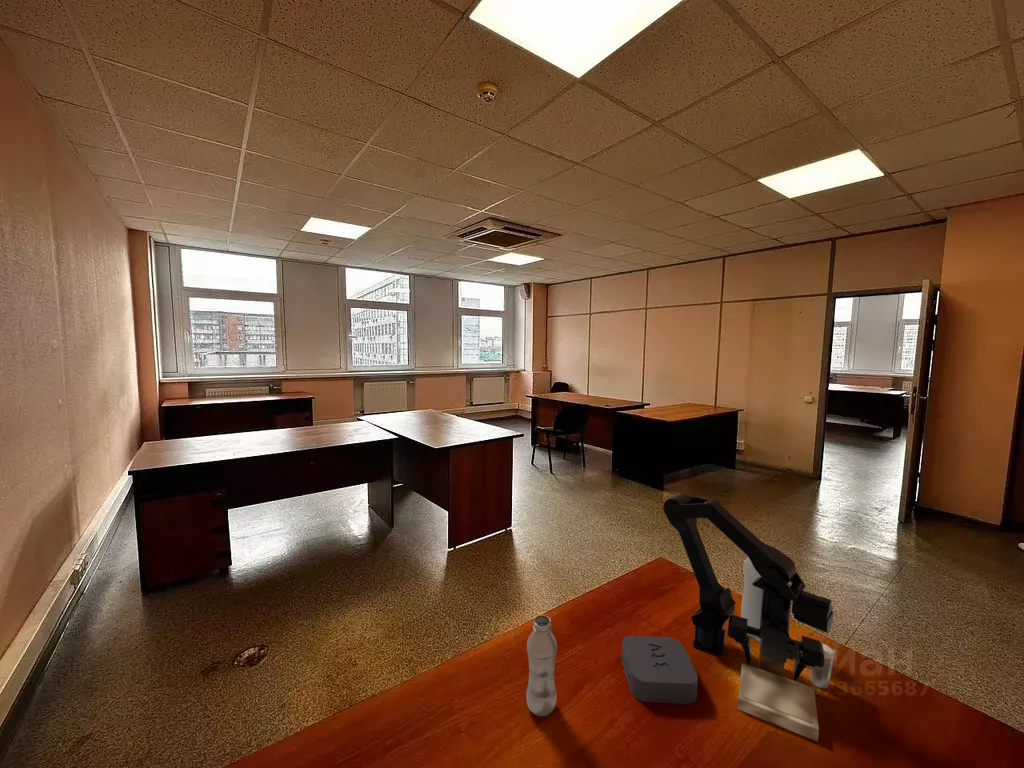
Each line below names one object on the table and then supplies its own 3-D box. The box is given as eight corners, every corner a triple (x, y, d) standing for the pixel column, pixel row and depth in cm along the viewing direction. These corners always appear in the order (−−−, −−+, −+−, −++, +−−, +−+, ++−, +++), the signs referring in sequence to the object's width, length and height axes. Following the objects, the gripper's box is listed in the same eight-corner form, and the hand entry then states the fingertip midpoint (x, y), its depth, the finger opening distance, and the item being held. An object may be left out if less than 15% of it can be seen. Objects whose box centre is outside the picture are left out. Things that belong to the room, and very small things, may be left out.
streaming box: (700, 705, 92) (702, 684, 91) (633, 703, 92) (634, 681, 92) (677, 656, 106) (678, 637, 106) (619, 654, 107) (620, 635, 106)
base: (737, 709, 91) (738, 697, 91) (741, 672, 101) (742, 661, 101) (817, 741, 84) (818, 729, 83) (813, 698, 94) (813, 687, 93)
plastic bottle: (559, 699, 93) (560, 614, 91) (552, 725, 87) (553, 634, 85) (531, 691, 95) (532, 607, 93) (522, 716, 89) (522, 627, 87)
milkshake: (840, 693, 95) (843, 651, 94) (813, 689, 96) (816, 647, 95) (829, 678, 99) (832, 637, 99) (803, 674, 100) (807, 634, 100)
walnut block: (758, 672, 101) (760, 649, 100) (758, 659, 105) (760, 636, 105) (783, 681, 98) (785, 657, 98) (782, 667, 103) (784, 644, 102)
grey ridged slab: (775, 647, 109) (781, 566, 107) (760, 648, 109) (766, 567, 107) (747, 620, 120) (751, 546, 118) (733, 621, 119) (738, 547, 117)
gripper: (727, 615, 96) (723, 679, 97) (829, 646, 86) (823, 716, 88) (731, 590, 105) (728, 649, 107) (824, 616, 96) (818, 680, 97)
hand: (771, 672), depth 99 cm, fingers open, 9 cm apart
